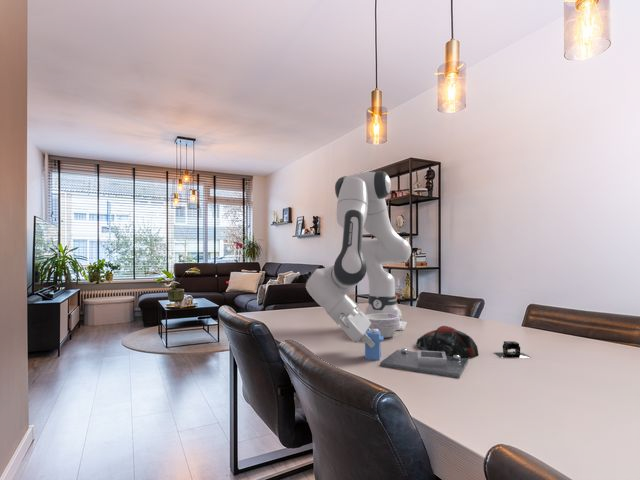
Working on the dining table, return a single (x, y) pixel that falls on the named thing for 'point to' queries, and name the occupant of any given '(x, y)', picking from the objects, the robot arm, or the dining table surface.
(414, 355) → the plate
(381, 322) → the paper bowls
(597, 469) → the dining table surface
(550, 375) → the dining table surface
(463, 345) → the drone shell
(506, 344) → the black block with base
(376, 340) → the block
